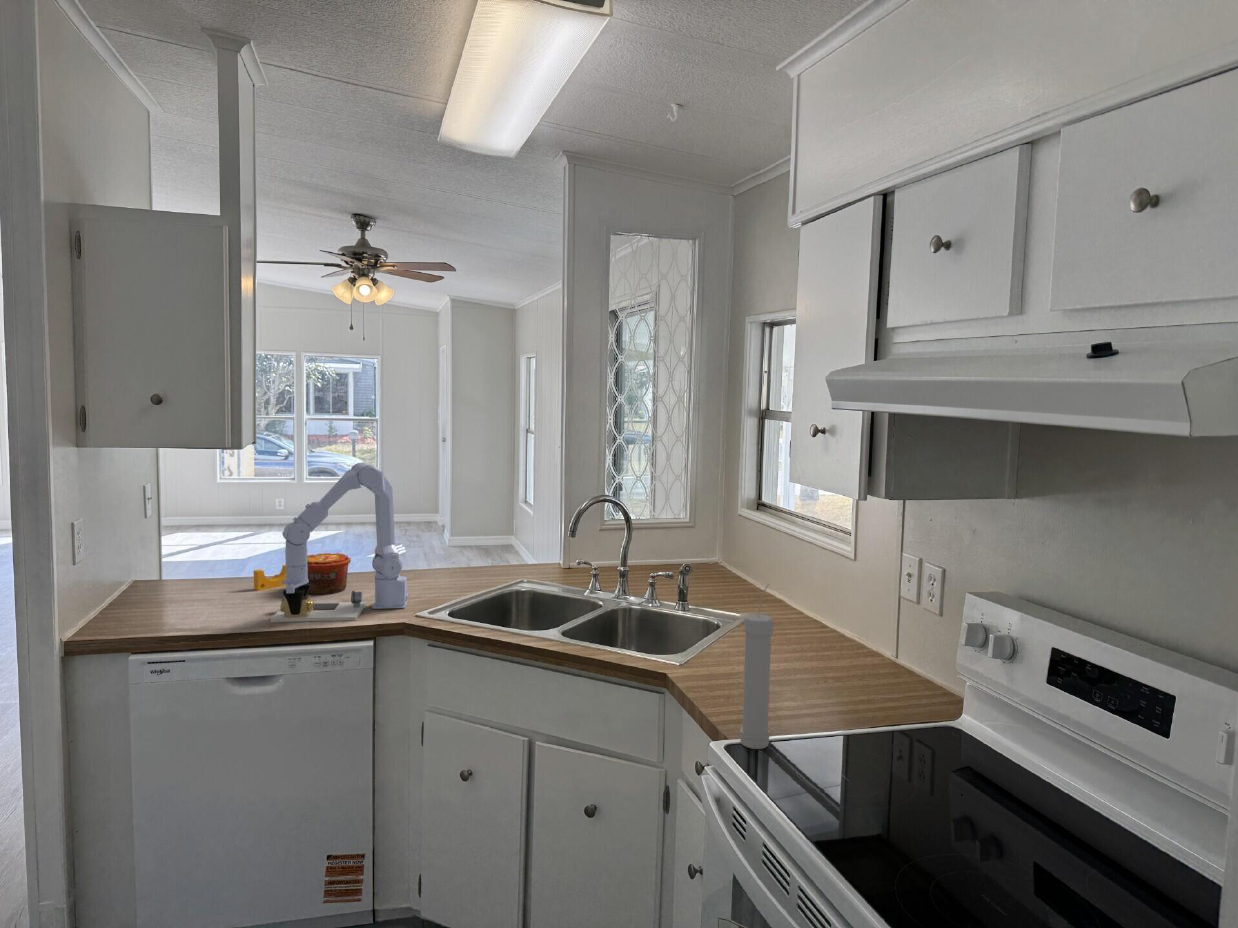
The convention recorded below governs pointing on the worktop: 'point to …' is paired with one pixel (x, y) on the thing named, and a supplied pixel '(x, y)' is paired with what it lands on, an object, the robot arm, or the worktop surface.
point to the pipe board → (328, 611)
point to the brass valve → (305, 609)
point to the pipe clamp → (265, 583)
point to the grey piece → (756, 680)
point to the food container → (327, 572)
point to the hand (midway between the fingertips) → (297, 611)
